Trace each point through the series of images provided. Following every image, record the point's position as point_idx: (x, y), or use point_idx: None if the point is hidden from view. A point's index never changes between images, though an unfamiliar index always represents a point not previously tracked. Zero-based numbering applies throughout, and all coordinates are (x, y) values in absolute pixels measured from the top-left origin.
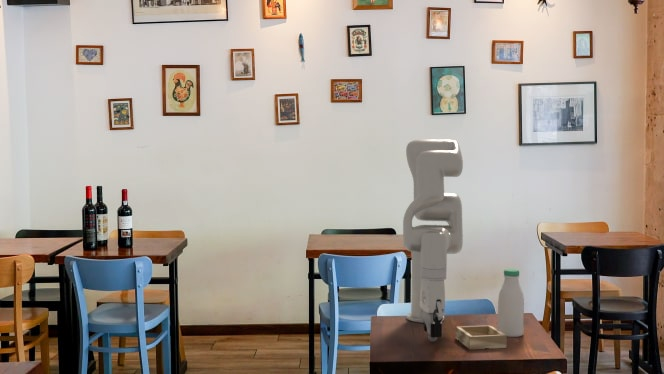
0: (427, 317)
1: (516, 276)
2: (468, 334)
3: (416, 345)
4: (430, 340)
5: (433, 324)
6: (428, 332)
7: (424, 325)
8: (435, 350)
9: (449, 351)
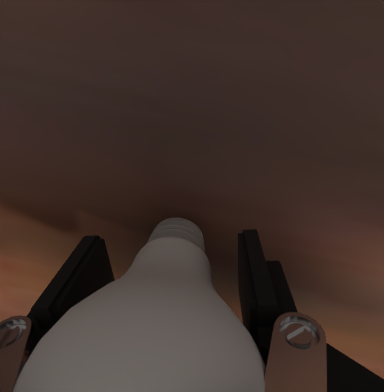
0: (40, 342)
1: None
2: None
3: (120, 122)
4: (159, 224)
5: (43, 321)
6: (152, 242)
7: (247, 255)
8: (22, 207)
9: (17, 265)
